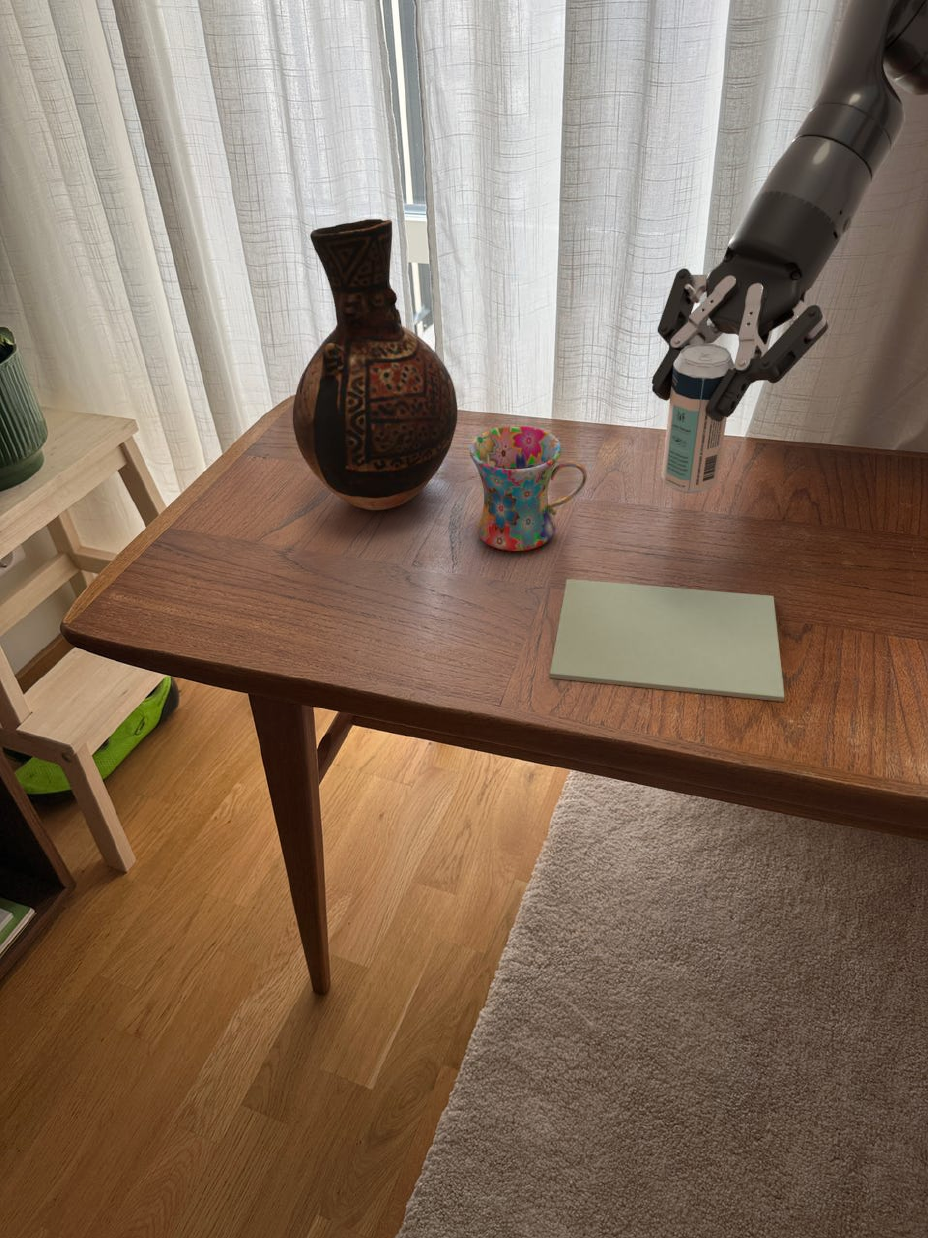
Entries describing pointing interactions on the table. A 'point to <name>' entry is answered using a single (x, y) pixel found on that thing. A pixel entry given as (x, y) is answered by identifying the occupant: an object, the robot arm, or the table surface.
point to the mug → (518, 486)
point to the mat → (669, 639)
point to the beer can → (694, 419)
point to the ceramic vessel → (371, 381)
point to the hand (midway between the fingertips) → (685, 405)
